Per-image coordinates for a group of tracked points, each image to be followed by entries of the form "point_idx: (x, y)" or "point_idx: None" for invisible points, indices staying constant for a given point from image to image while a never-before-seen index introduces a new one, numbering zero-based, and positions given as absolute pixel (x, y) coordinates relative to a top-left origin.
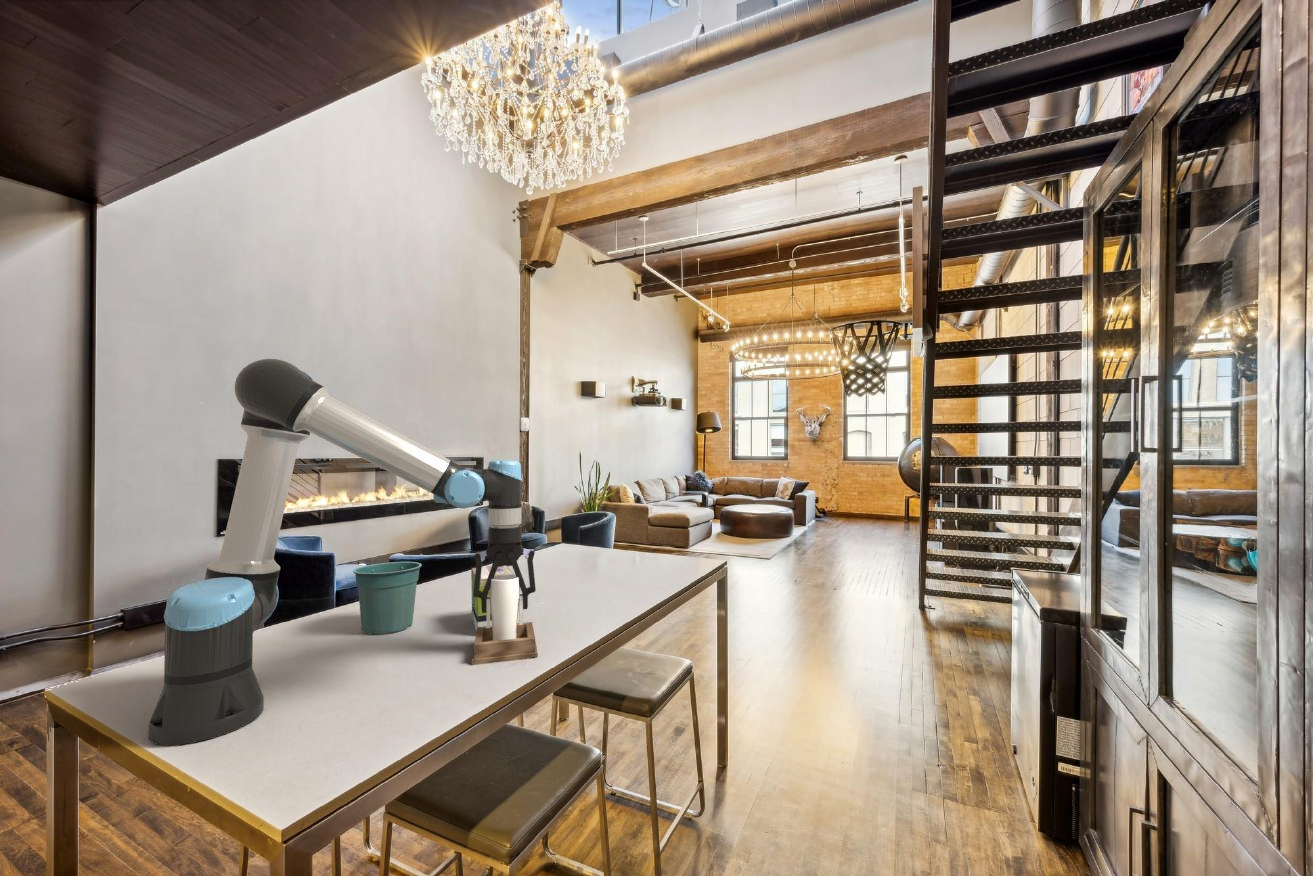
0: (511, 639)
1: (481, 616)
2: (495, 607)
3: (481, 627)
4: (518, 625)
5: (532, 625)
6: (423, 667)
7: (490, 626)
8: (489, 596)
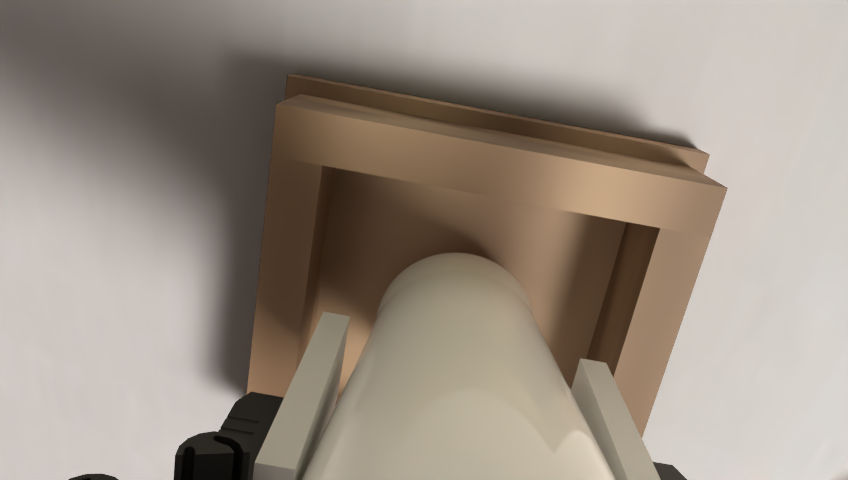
0: None
1: None
2: None
3: (309, 132)
4: (598, 214)
5: (693, 281)
6: (15, 336)
7: (381, 141)
8: (285, 467)
